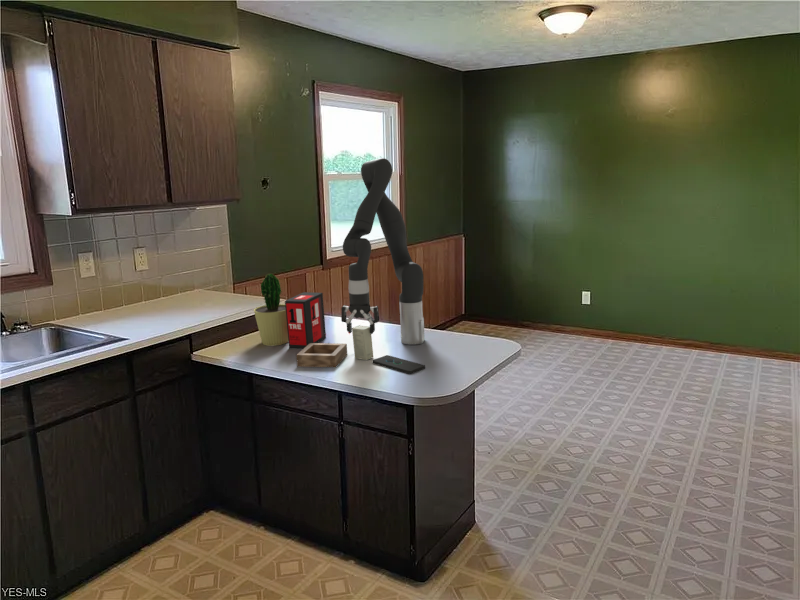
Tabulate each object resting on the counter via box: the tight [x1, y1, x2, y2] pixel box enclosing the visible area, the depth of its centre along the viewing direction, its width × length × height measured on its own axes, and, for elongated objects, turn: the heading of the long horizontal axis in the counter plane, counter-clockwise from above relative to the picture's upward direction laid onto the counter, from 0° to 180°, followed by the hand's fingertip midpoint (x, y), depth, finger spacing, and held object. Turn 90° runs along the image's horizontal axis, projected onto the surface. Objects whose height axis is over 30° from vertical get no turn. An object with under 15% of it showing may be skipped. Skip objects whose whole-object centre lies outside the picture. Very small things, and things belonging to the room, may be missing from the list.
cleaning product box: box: [284, 291, 327, 350], centre depth 252 cm, size 16×9×20 cm, turn 162°
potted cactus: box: [253, 272, 289, 347], centre depth 255 cm, size 15×15×30 cm
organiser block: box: [295, 342, 348, 368], centre depth 230 cm, size 15×15×4 cm
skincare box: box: [351, 324, 374, 361], centre depth 230 cm, size 6×4×12 cm
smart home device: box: [371, 355, 426, 375], centre depth 221 cm, size 8×2×20 cm
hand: (360, 333), depth 229 cm, fingers open, 8 cm apart
